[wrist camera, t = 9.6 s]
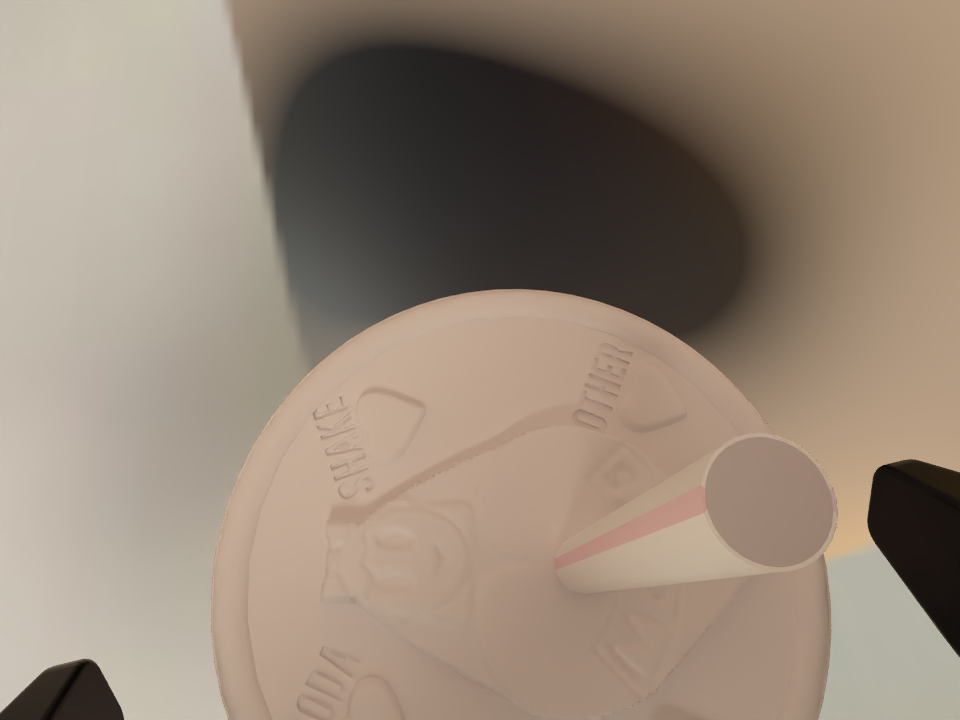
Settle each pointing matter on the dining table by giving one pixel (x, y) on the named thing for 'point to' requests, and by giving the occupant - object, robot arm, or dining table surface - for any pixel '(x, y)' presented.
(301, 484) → the smoothie
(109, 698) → the robot arm
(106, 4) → the dining table surface
